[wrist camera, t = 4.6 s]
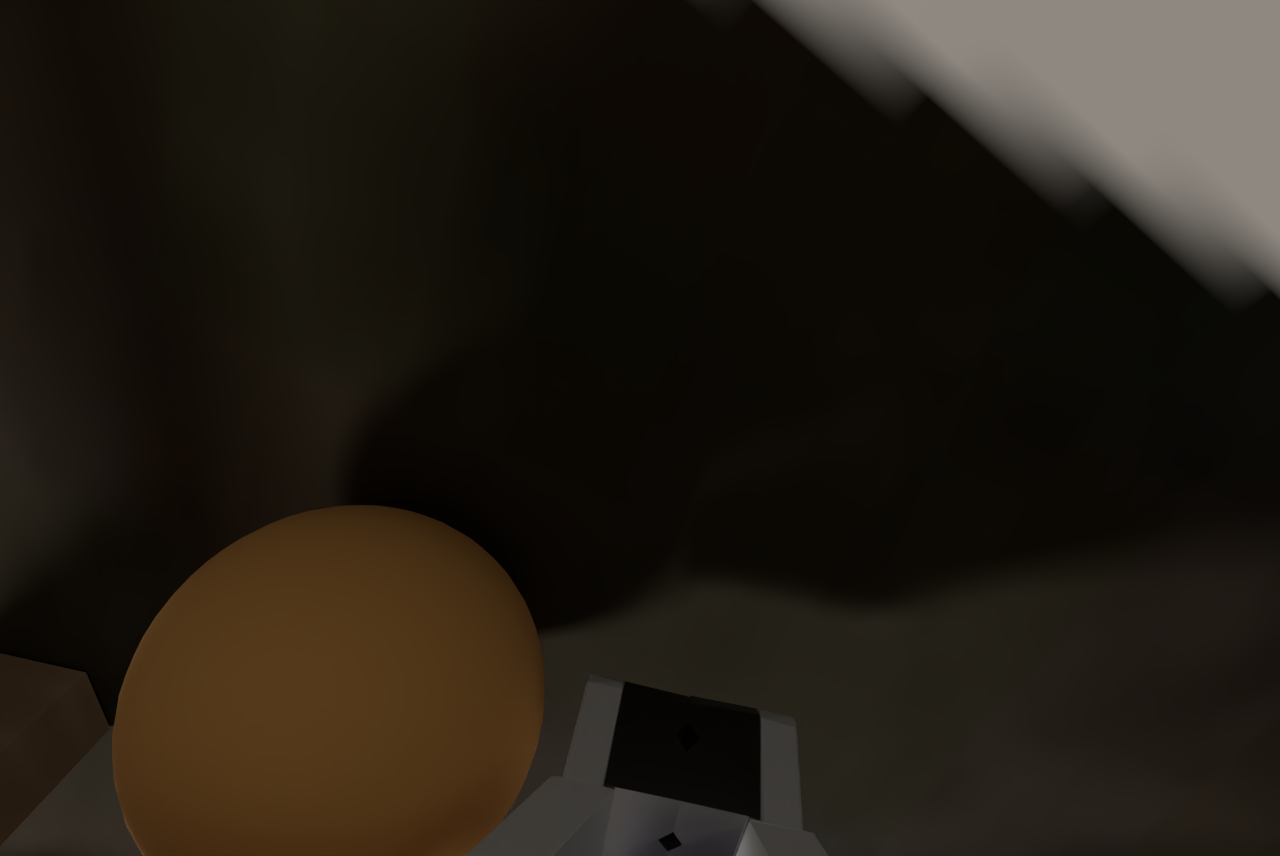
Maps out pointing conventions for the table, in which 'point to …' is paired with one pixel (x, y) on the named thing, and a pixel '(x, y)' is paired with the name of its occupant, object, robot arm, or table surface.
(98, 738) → the bridge
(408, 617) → the ball
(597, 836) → the robot arm
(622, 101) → the table surface
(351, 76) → the table surface
